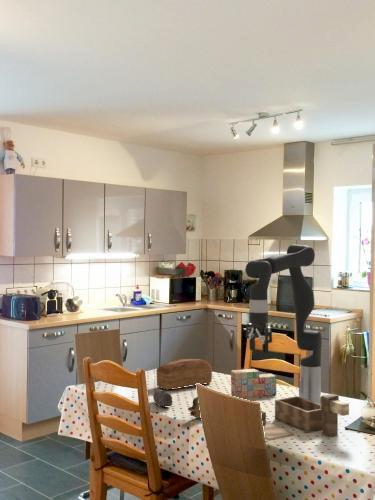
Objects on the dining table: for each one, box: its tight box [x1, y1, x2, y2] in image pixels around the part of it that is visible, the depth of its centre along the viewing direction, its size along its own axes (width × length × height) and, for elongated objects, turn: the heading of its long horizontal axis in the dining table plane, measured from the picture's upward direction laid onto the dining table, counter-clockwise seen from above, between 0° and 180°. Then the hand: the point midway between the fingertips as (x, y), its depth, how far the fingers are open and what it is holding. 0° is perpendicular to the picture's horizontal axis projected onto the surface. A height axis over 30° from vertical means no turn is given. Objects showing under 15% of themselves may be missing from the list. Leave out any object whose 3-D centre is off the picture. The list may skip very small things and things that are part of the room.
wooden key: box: [320, 397, 350, 417], centre depth 210 cm, size 12×3×4 cm, turn 29°
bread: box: [155, 358, 213, 390], centre depth 289 cm, size 12×31×14 cm, turn 123°
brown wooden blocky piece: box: [274, 393, 340, 438], centre depth 222 cm, size 28×12×15 cm, turn 29°
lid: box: [261, 410, 295, 441], centre depth 218 cm, size 20×12×6 cm, turn 29°
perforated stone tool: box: [152, 389, 173, 408], centre depth 253 cm, size 15×5×7 cm, turn 25°
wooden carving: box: [187, 396, 200, 419], centre depth 234 cm, size 16×5×10 cm, turn 141°
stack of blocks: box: [230, 368, 277, 399], centre depth 270 cm, size 21×6×12 cm, turn 106°
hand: (258, 351), depth 221 cm, fingers open, 8 cm apart
